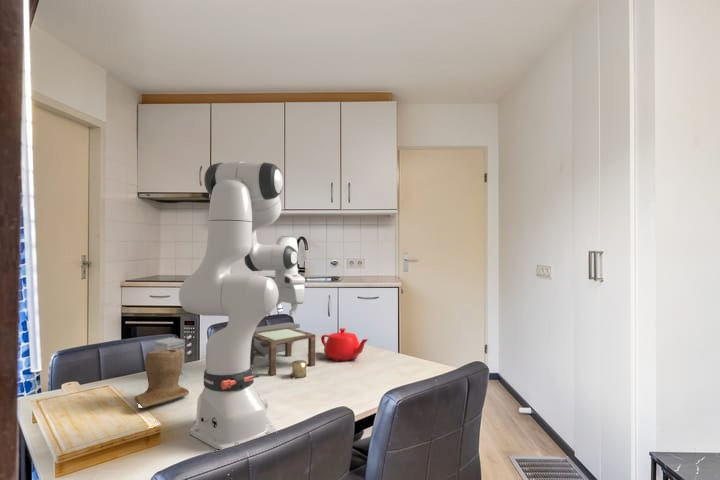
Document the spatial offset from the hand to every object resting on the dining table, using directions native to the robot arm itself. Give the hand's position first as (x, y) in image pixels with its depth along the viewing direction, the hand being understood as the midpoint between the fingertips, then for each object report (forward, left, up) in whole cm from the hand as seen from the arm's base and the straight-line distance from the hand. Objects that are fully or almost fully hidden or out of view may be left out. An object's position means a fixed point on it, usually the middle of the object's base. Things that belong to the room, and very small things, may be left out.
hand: (285, 313), depth 150 cm
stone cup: (-4, +46, -21) cm, 50 cm away
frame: (+4, 0, -21) cm, 21 cm away
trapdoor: (+4, 0, -10) cm, 10 cm away
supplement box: (+19, +37, -21) cm, 46 cm away
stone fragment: (-5, +23, -21) cm, 32 cm away
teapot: (-5, -25, -21) cm, 33 cm away
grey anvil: (+24, -7, -21) cm, 32 cm away
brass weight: (-13, +2, -21) cm, 24 cm away
